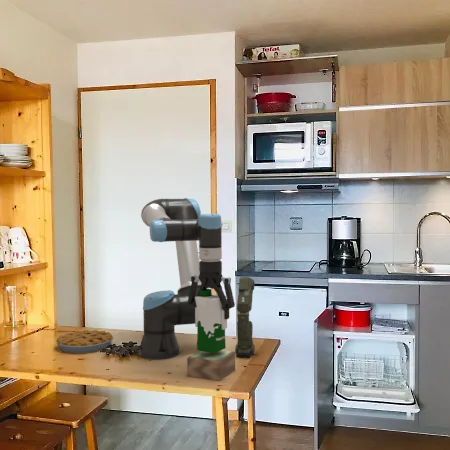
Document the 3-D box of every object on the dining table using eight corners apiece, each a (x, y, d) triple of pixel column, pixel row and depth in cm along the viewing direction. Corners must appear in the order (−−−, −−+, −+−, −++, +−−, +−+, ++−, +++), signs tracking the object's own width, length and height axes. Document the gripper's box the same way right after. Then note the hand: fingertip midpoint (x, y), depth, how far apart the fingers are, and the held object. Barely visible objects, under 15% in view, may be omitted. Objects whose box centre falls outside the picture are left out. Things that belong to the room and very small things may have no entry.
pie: (79, 358, 190) (79, 345, 190) (45, 348, 203) (44, 336, 203) (124, 345, 207) (124, 332, 207) (90, 337, 221) (89, 325, 220)
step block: (187, 376, 169) (187, 356, 168) (203, 365, 180) (203, 347, 179) (220, 381, 164) (220, 361, 163) (235, 369, 175) (235, 351, 174)
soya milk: (207, 344, 178) (207, 287, 177) (229, 348, 173) (229, 289, 172) (192, 350, 170) (192, 290, 169) (215, 354, 165) (215, 293, 164)
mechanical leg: (250, 359, 183) (253, 275, 189) (231, 358, 185) (234, 275, 191) (256, 357, 197) (258, 279, 202) (237, 356, 198) (240, 278, 204)
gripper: (176, 260, 171) (177, 326, 172) (236, 262, 162) (236, 333, 163) (187, 257, 178) (188, 322, 179) (245, 260, 169) (245, 327, 170)
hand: (211, 327), depth 171 cm, fingers closed on soya milk, 9 cm apart
